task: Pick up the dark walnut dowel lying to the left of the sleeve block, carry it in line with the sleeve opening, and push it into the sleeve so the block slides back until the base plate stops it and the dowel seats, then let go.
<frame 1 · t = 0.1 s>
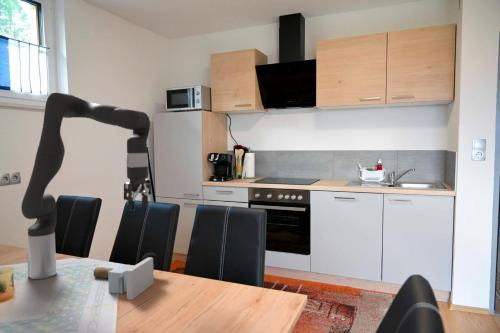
hand: (138, 209, 124), 29 cm above the table, tool pointing down, fingers open, 8 cm apart
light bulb: (150, 277, 134), on the table
sleeve block: (122, 278, 123), point 4 cm above the table, slide at 0.0 cm
base plate: (138, 290, 122), on the table
dowel: (109, 278, 134), on the table
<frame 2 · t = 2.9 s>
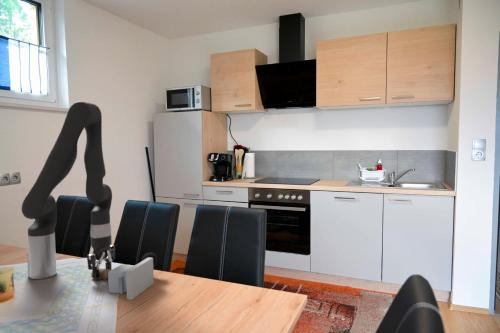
hand: (102, 275, 135), 1 cm above the table, tool pointing down, fingers open, 6 cm apart
dowel: (109, 276, 134), on the table, tilted 41°
everything else where it was.
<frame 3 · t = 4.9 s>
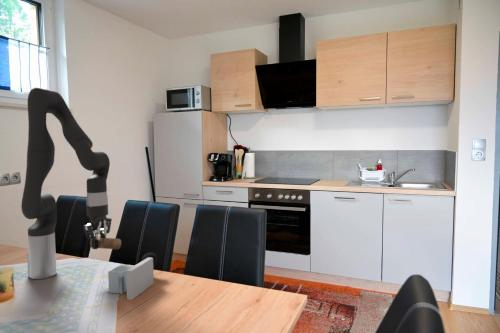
hand: (99, 246, 130), 13 cm above the table, tool pointing down, fingers closed on dowel, 4 cm apart
dowel: (105, 248, 130), point 13 cm above the table, touching gripper
everything else where it was.
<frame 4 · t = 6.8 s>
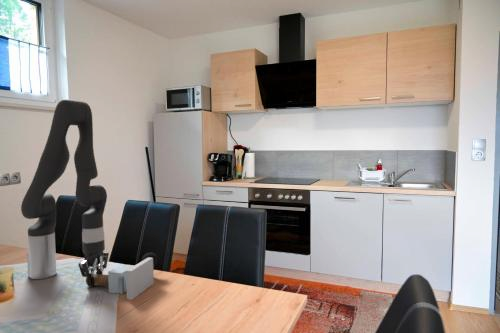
hand: (95, 283, 126), 1 cm above the table, tool pointing down, fingers closed on dowel, 4 cm apart
dowel: (102, 285, 125), on the table, touching gripper
everything else where it was.
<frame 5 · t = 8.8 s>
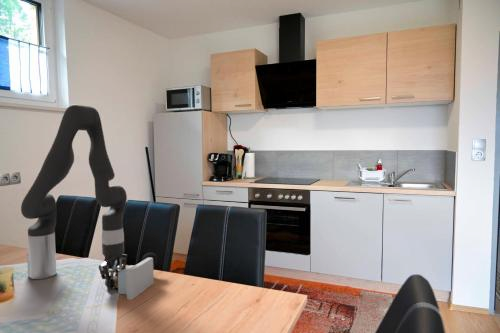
hand: (114, 285, 124), 1 cm above the table, tool pointing down, fingers closed on dowel, 4 cm apart
sleeve block: (131, 279, 122), point 4 cm above the table, slide at 4.0 cm, touching base plate, dowel
dowel: (121, 287, 123), on the table, touching gripper, sleeve block
everything else where it was.
when the fingers open (1 cm above the table, at t = 10.0 s): dowel stays where it is, on the table.
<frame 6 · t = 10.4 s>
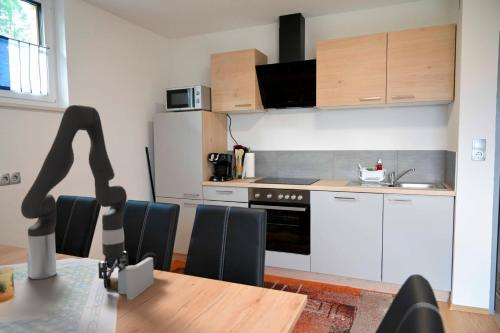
hand: (114, 283, 124), 2 cm above the table, tool pointing down, fingers open, 7 cm apart
sleeve block: (131, 279, 122), point 4 cm above the table, slide at 4.0 cm, touching base plate
dowel: (121, 289, 123), on the table
everything else where it was.
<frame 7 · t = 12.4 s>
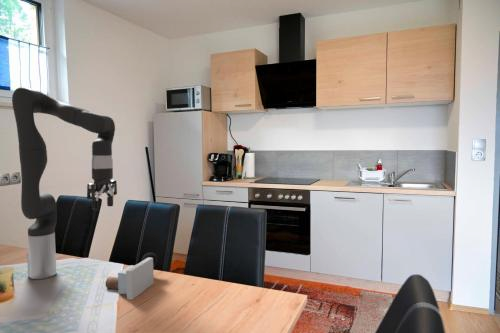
hand: (102, 208, 132), 28 cm above the table, tool pointing down, fingers open, 8 cm apart
dowel: (121, 289, 123), on the table, tilted 6°
everything else where it was.
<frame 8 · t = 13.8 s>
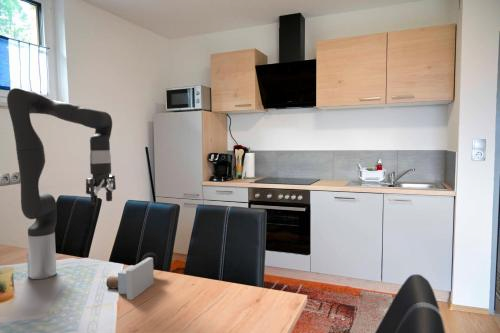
hand: (102, 202, 133), 30 cm above the table, tool pointing down, fingers open, 8 cm apart
sleeve block: (131, 279, 122), point 4 cm above the table, slide at 4.0 cm
dowel: (121, 289, 123), on the table, tilted 19°
everything else where it was.
at the end: sleeve block slide at 4.0 cm; dowel 0.0 cm from the target spot on the sleeve block, point 0.0 cm above the sleeve block's base; the gripper is holding nothing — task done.
